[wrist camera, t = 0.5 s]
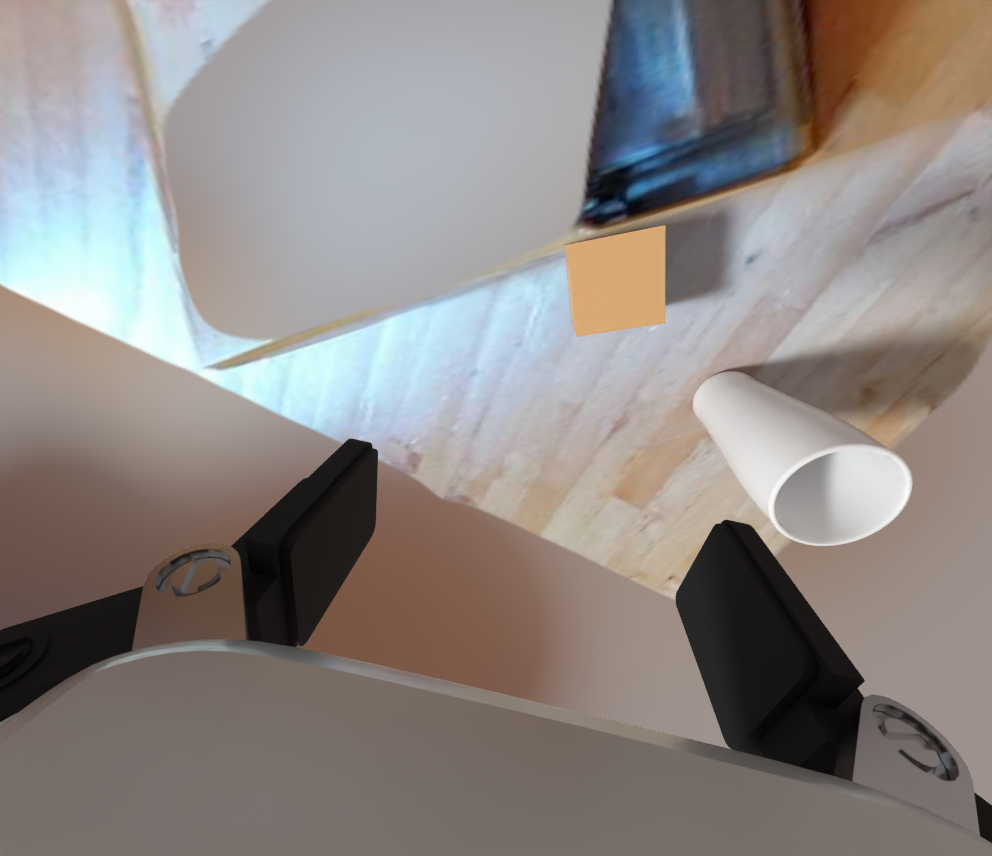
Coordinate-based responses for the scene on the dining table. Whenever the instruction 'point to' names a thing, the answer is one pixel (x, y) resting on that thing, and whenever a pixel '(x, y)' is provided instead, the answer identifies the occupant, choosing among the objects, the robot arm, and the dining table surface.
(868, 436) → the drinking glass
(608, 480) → the dining table surface
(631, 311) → the beige wooden cube
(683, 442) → the dining table surface
